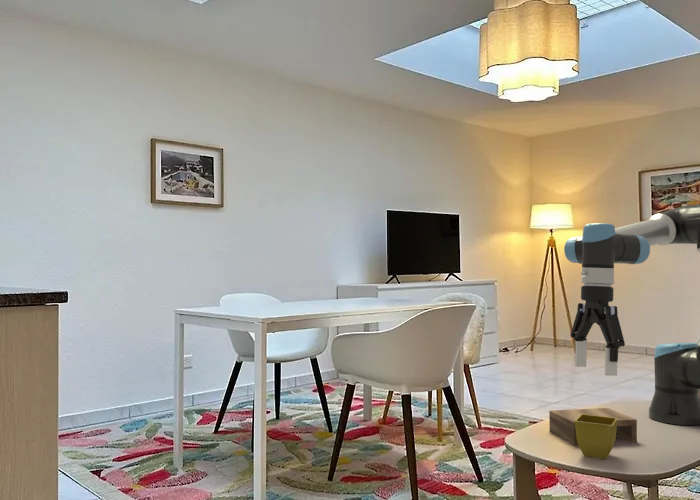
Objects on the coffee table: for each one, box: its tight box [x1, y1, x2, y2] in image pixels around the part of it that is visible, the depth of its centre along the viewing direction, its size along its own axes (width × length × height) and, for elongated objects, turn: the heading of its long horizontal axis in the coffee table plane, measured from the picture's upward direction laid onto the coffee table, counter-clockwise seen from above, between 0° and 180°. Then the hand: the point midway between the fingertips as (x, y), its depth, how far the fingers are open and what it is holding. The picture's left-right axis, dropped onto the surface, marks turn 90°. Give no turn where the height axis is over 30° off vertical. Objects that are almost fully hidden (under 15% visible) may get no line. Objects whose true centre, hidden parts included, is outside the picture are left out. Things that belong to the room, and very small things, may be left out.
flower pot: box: [575, 414, 618, 460], centre depth 152 cm, size 9×9×9 cm
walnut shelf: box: [548, 407, 638, 447], centre depth 168 cm, size 18×13×6 cm
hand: (595, 370), depth 153 cm, fingers open, 13 cm apart
